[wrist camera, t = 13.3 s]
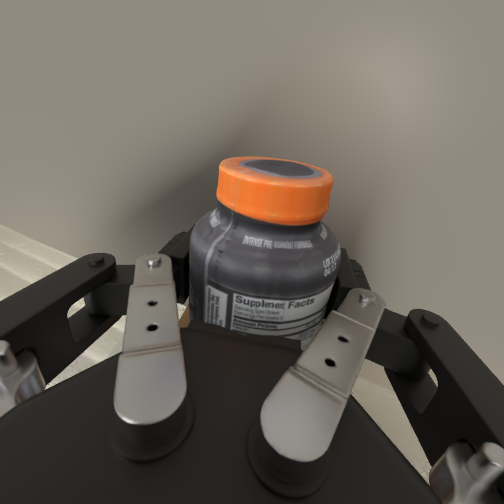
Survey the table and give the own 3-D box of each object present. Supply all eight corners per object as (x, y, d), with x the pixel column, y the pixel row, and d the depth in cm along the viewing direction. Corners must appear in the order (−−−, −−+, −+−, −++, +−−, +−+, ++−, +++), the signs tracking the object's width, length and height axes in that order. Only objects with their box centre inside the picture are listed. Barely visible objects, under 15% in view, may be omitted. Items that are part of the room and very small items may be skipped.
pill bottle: (217, 327, 18) (231, 143, 13) (307, 357, 17) (363, 165, 12) (164, 410, 13) (151, 160, 8) (287, 461, 12) (373, 202, 6)
